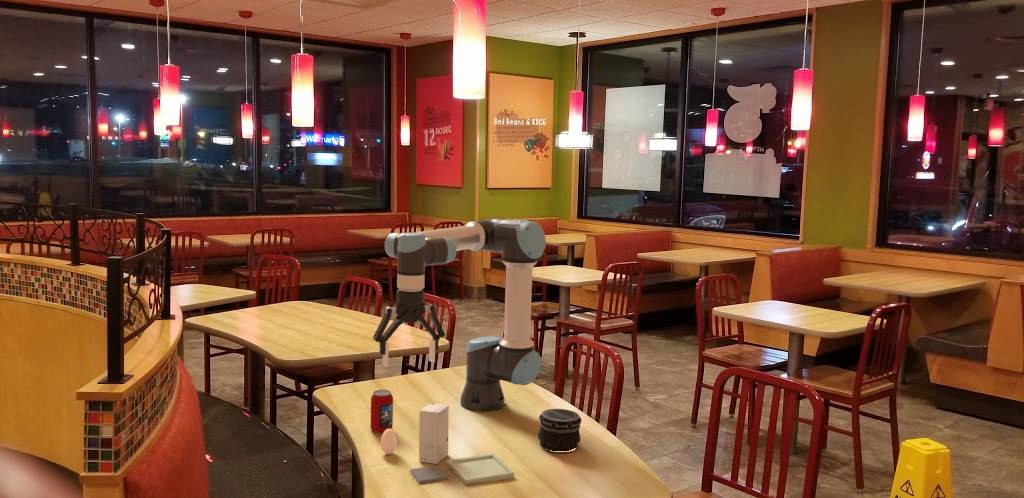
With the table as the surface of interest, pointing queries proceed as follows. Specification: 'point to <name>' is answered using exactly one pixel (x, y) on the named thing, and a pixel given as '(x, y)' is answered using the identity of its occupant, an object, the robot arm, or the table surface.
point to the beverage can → (381, 411)
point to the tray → (480, 469)
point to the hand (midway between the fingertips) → (408, 363)
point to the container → (559, 429)
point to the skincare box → (433, 433)
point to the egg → (389, 441)
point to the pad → (429, 474)
